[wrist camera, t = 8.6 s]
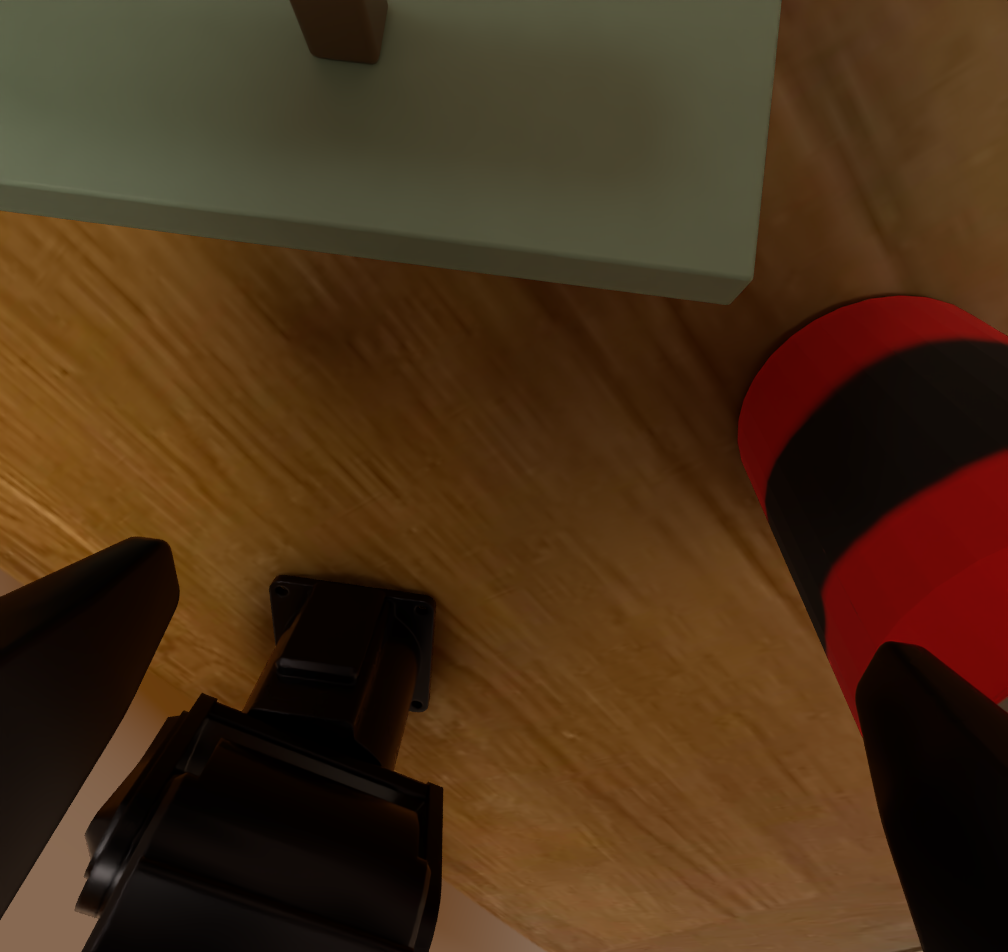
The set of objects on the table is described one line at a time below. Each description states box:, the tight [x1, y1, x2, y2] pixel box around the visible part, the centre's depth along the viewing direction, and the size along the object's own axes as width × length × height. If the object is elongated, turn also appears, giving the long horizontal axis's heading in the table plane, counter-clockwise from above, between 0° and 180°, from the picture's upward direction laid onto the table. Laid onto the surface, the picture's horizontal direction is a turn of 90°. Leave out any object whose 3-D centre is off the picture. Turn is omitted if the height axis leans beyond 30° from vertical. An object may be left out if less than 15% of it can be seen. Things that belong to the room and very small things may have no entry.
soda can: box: [738, 295, 1008, 737], centre depth 15 cm, size 8×8×12 cm
